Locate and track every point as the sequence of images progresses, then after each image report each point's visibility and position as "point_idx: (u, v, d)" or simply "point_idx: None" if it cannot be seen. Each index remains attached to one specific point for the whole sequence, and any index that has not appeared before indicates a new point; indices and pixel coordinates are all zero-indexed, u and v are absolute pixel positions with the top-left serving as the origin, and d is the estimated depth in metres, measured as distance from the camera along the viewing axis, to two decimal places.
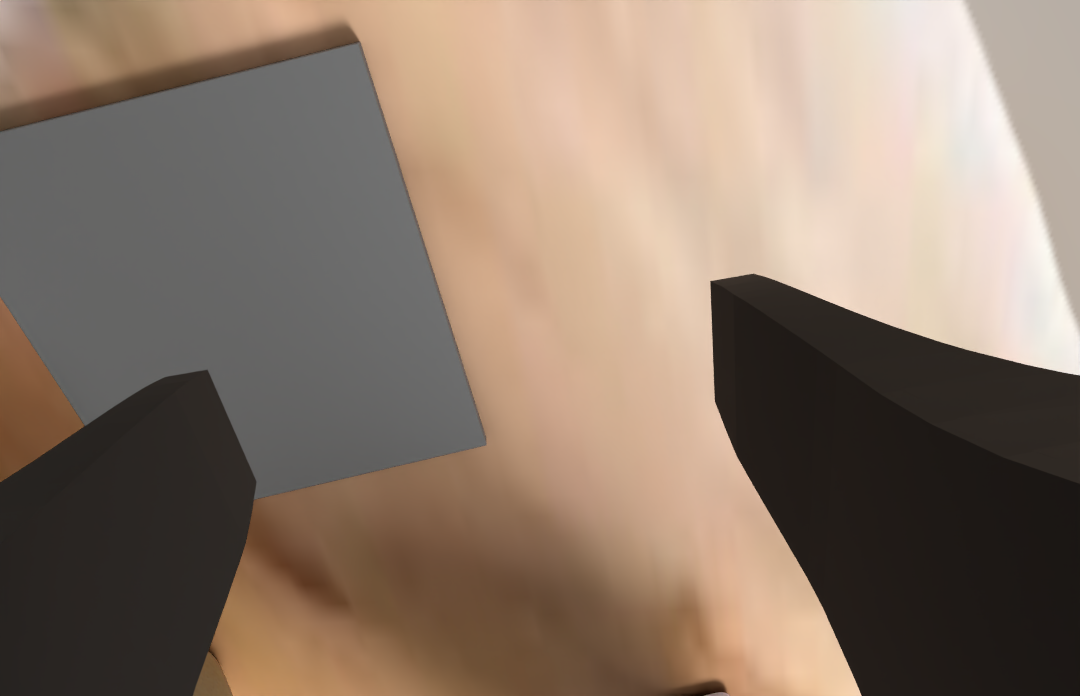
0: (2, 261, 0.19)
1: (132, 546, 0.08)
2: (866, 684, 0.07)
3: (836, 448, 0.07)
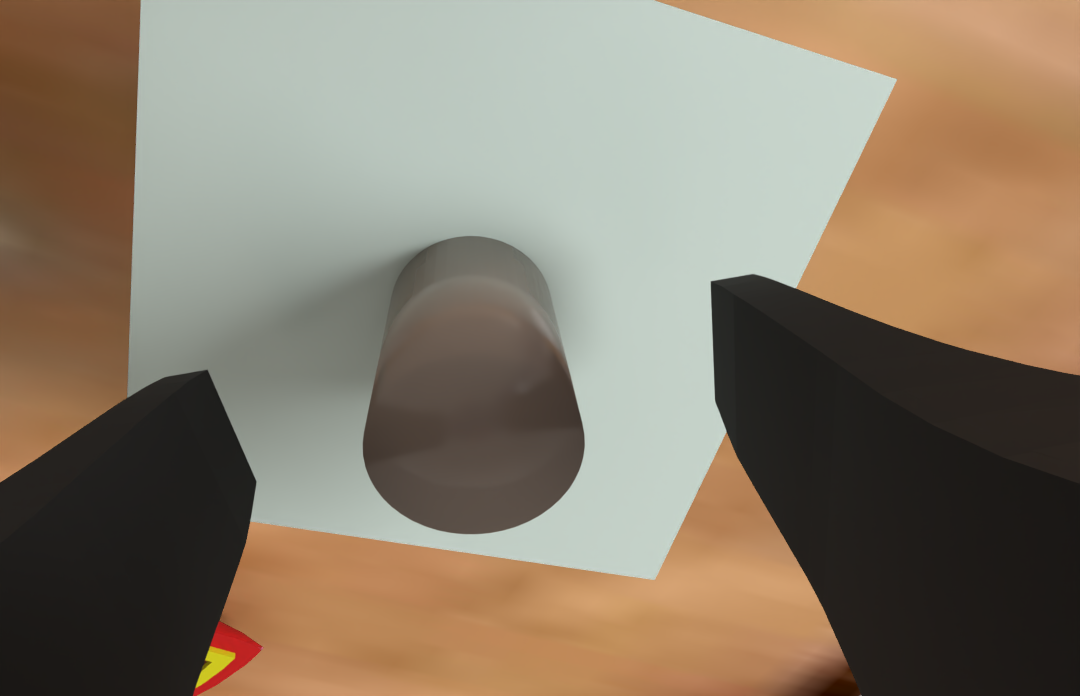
0: None
1: (132, 546, 0.08)
2: (866, 684, 0.07)
3: (836, 448, 0.07)
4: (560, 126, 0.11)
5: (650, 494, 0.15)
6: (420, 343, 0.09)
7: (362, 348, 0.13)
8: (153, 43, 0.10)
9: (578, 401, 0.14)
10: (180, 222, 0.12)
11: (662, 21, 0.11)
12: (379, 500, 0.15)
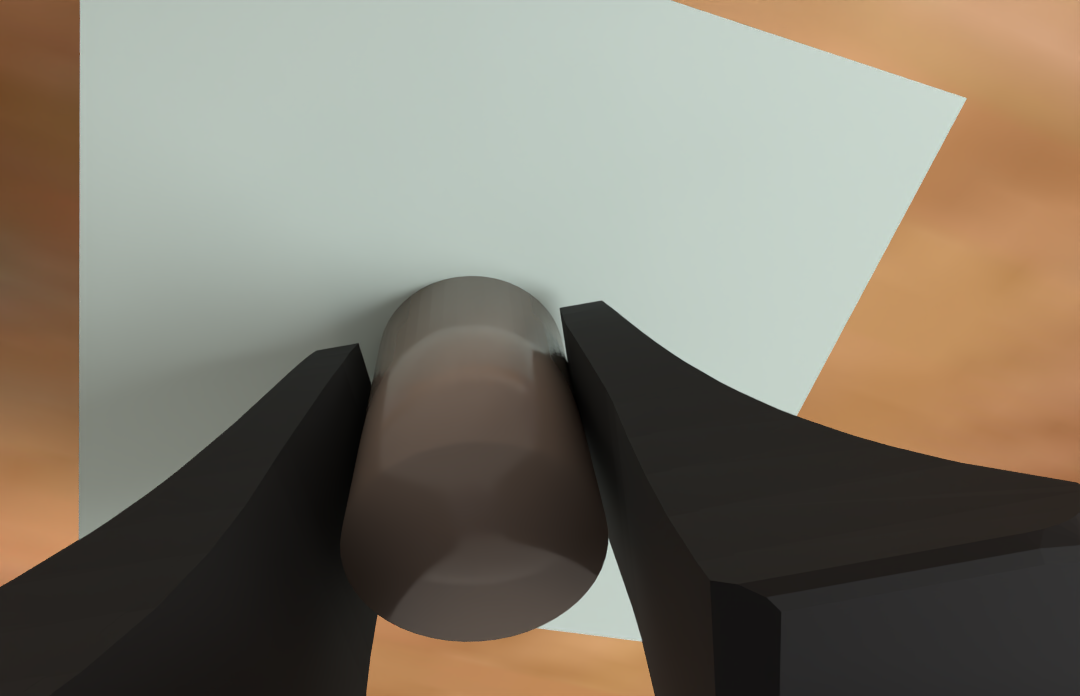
0: None
1: (325, 512, 0.08)
2: None
3: (624, 486, 0.07)
4: (576, 151, 0.10)
5: None
6: (410, 422, 0.08)
7: None
8: (96, 55, 0.09)
9: None
10: (134, 261, 0.10)
11: (697, 30, 0.09)
12: None
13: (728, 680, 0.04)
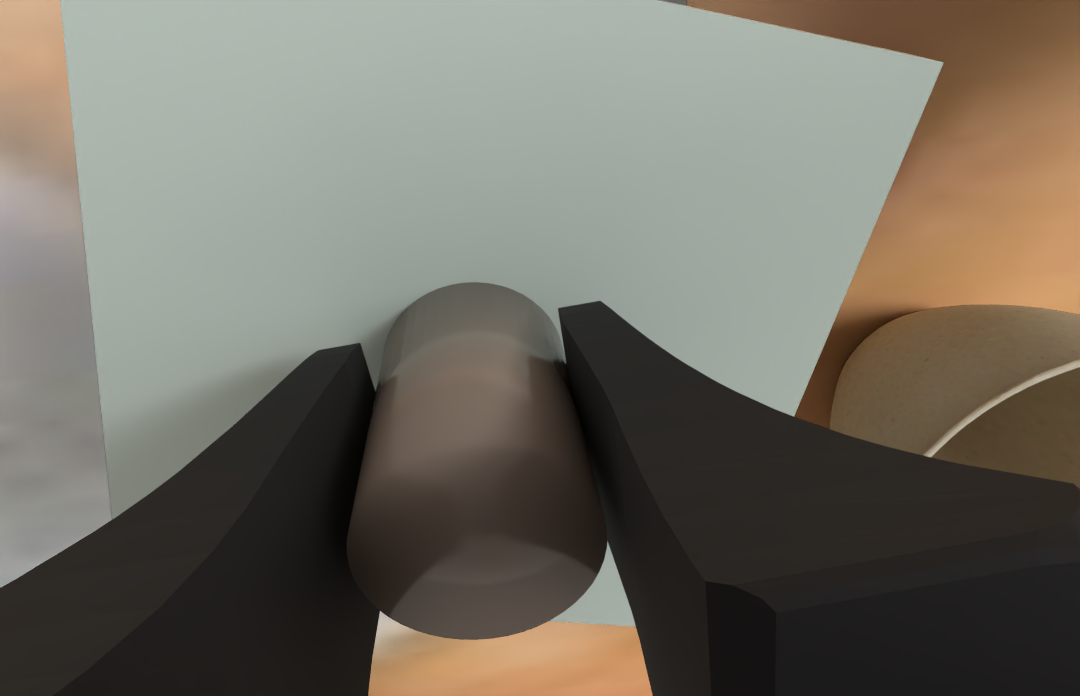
0: None
1: (327, 511, 0.08)
2: None
3: (622, 486, 0.07)
4: (554, 152, 0.10)
5: None
6: (405, 430, 0.08)
7: None
8: (86, 103, 0.09)
9: None
10: (141, 296, 0.10)
11: (662, 22, 0.09)
12: None
13: (722, 679, 0.04)
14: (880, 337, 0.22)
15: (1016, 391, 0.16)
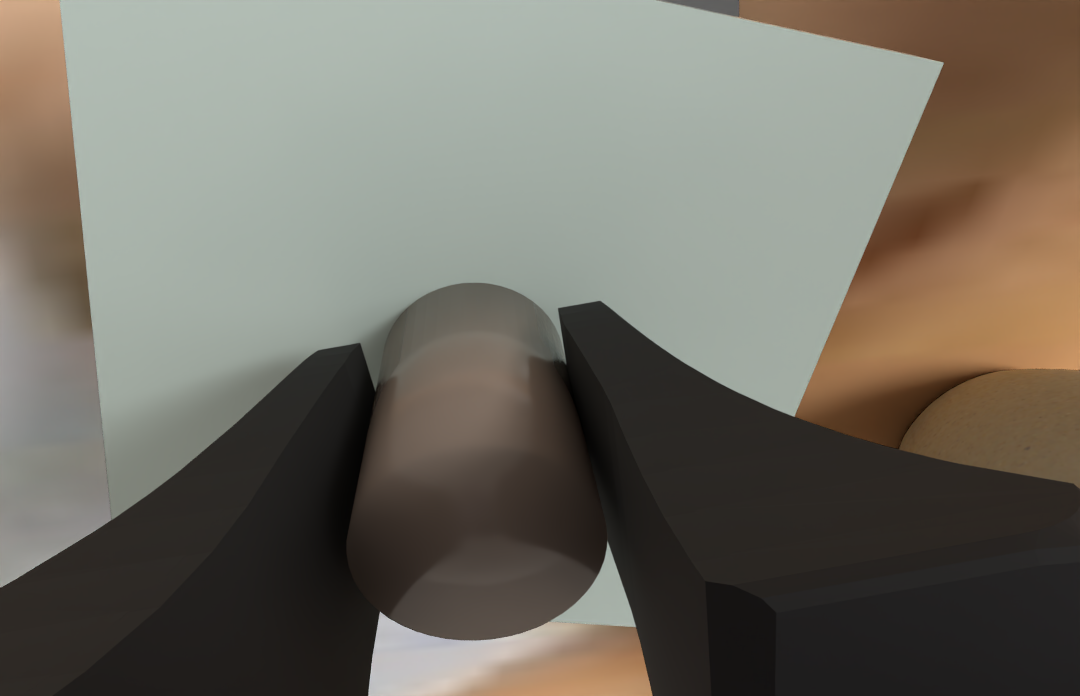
0: None
1: (327, 511, 0.08)
2: None
3: (622, 486, 0.07)
4: (555, 152, 0.10)
5: None
6: (404, 431, 0.08)
7: None
8: (85, 103, 0.09)
9: None
10: (141, 296, 0.10)
11: (662, 22, 0.09)
12: None
13: (722, 679, 0.04)
14: (955, 406, 0.18)
15: None
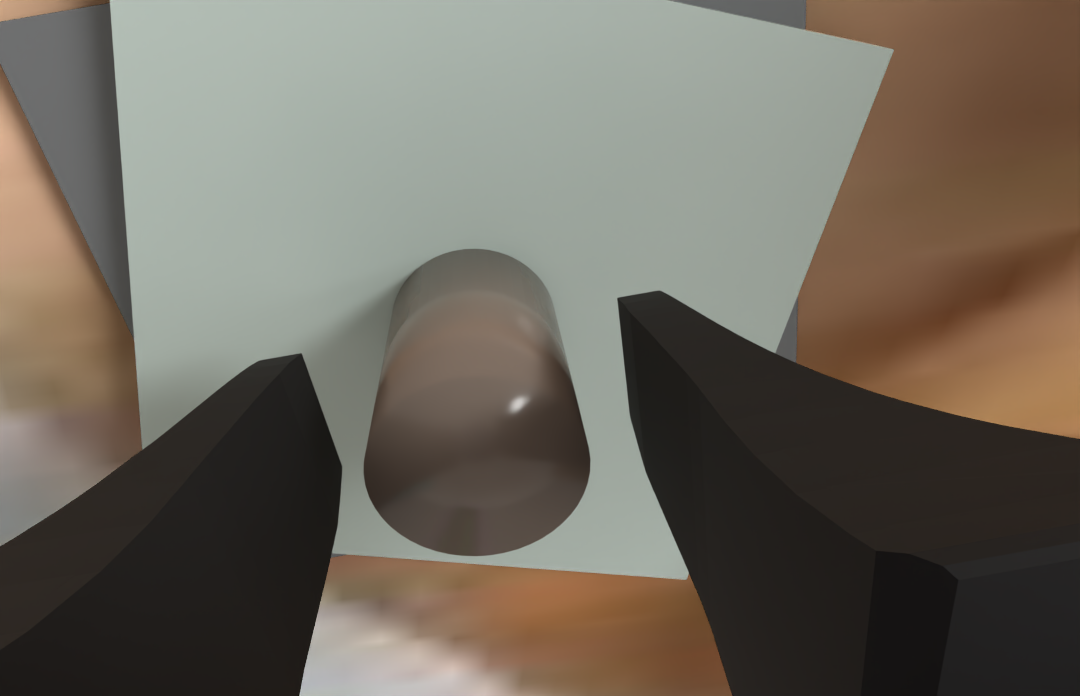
0: None
1: (252, 524, 0.08)
2: None
3: (705, 471, 0.07)
4: (546, 129, 0.11)
5: None
6: (414, 367, 0.09)
7: (367, 369, 0.13)
8: (129, 84, 0.10)
9: (591, 406, 0.14)
10: (174, 260, 0.12)
11: (641, 13, 0.10)
12: None
13: (880, 651, 0.04)
14: None
15: None
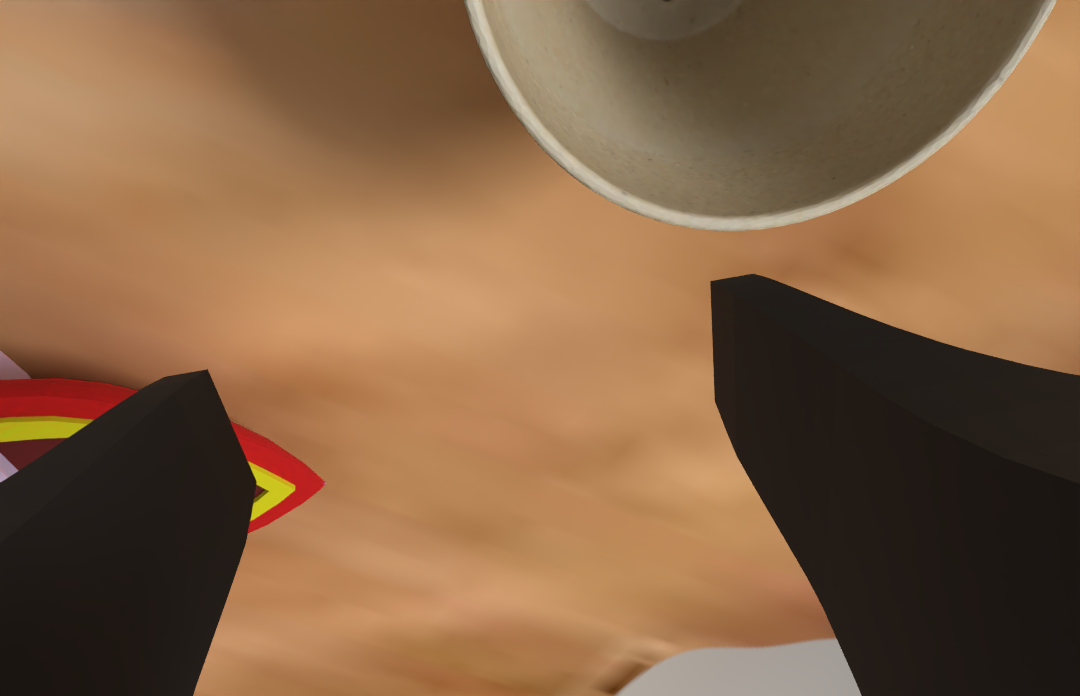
0: None
1: (132, 546, 0.08)
2: (866, 684, 0.07)
3: (836, 448, 0.07)
4: None
5: None
6: None
7: None
8: None
9: None
10: None
11: None
12: None
13: None
14: None
15: None
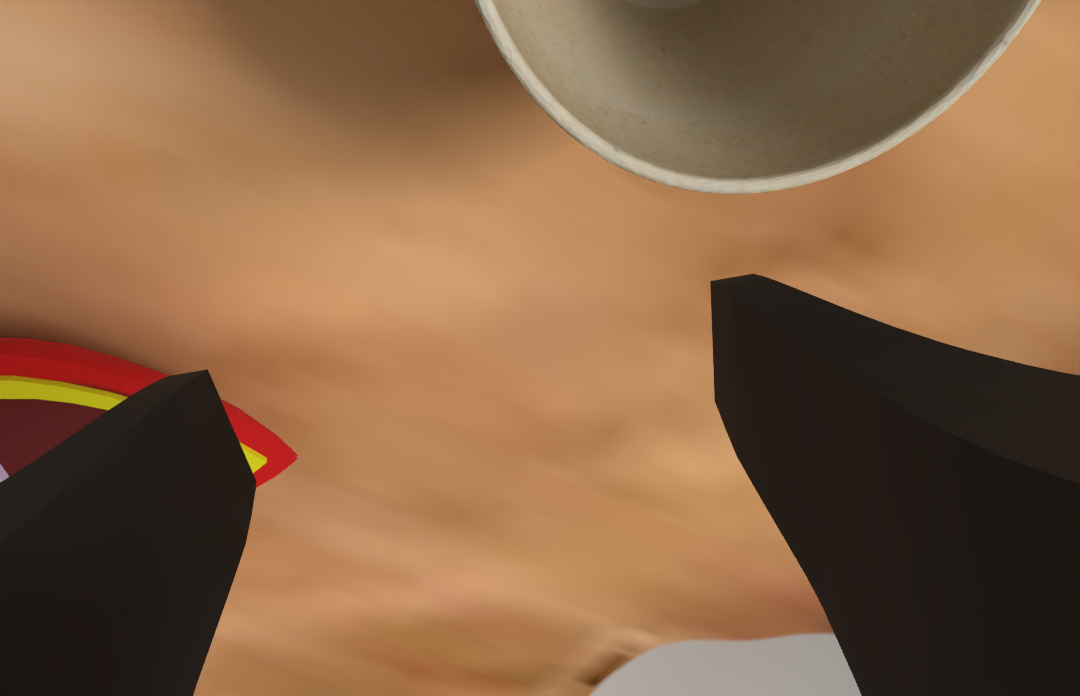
0: None
1: (132, 546, 0.08)
2: (866, 684, 0.07)
3: (836, 448, 0.07)
4: None
5: None
6: None
7: None
8: None
9: None
10: None
11: None
12: None
13: None
14: None
15: None
